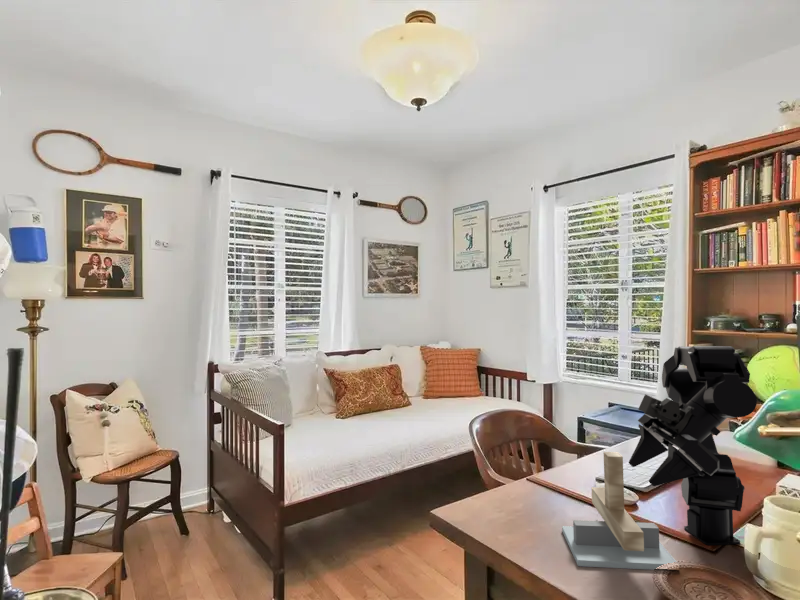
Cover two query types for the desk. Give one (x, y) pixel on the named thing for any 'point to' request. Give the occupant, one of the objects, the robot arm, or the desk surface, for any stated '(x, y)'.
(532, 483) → the desk surface
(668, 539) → the desk surface
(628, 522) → the t bar
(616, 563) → the stand
